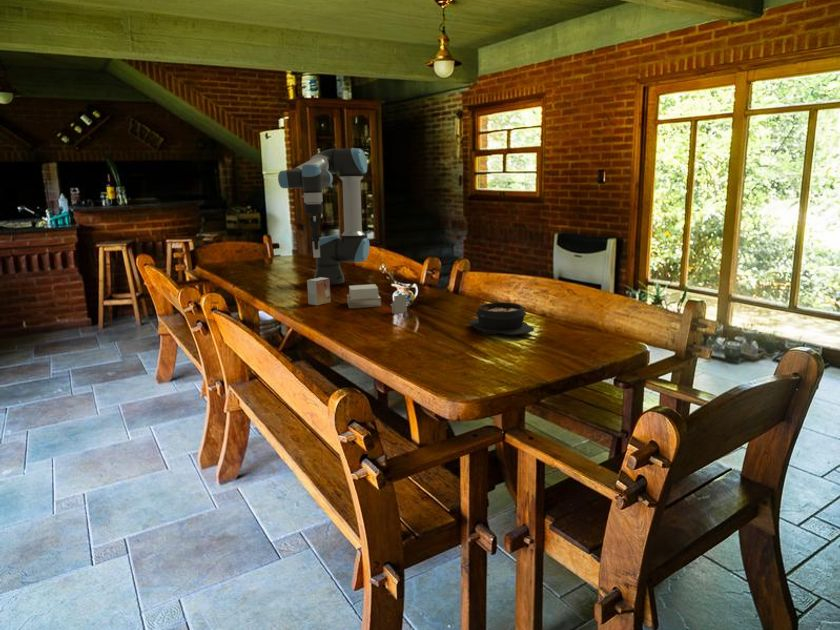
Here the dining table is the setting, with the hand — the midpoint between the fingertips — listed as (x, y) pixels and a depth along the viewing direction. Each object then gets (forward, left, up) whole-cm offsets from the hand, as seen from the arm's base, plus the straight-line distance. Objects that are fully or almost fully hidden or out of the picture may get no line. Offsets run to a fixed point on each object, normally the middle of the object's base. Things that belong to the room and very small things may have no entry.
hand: (316, 255), depth 249 cm
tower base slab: (+8, +18, -21) cm, 29 cm away
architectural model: (+26, +30, -21) cm, 45 cm away
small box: (0, 0, -21) cm, 21 cm away
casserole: (+63, +60, -21) cm, 89 cm away
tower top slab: (+8, +18, -17) cm, 26 cm away
